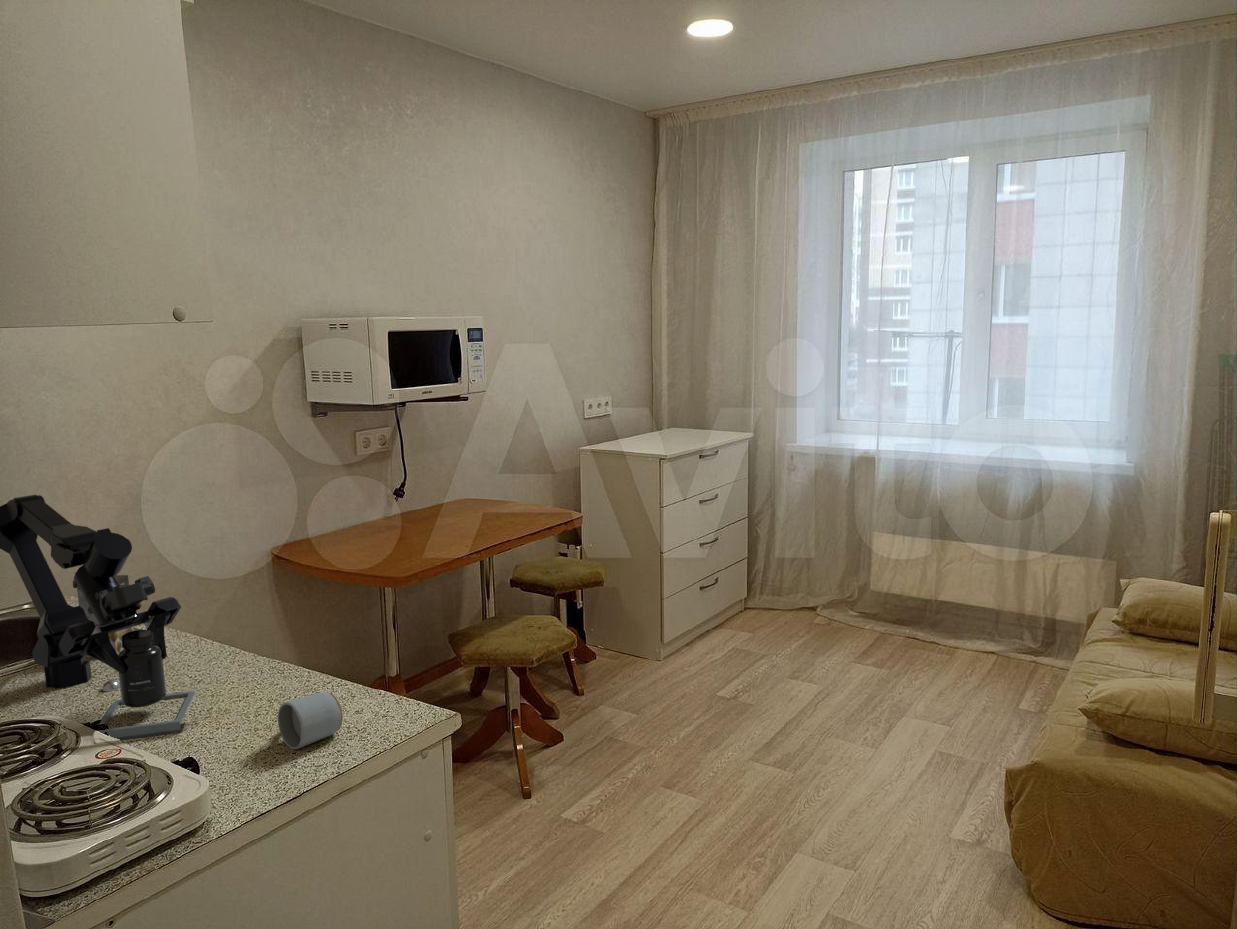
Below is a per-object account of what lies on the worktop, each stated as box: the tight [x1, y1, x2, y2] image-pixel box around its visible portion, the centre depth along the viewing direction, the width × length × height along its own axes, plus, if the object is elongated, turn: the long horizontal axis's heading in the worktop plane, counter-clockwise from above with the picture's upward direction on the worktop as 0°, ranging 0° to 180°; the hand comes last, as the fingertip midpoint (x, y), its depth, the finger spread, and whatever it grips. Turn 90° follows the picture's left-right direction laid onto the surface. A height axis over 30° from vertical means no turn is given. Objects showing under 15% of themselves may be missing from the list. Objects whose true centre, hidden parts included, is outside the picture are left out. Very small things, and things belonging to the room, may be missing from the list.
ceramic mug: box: [277, 691, 344, 750], centre depth 146 cm, size 11×8×8 cm
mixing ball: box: [102, 679, 120, 693], centre depth 164 cm, size 3×3×3 cm
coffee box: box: [76, 574, 135, 659], centre depth 183 cm, size 9×6×16 cm
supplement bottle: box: [118, 629, 167, 708], centre depth 152 cm, size 7×7×12 cm
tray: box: [99, 690, 196, 741], centre depth 153 cm, size 13×13×2 cm
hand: (144, 664), depth 151 cm, fingers closed on supplement bottle, 7 cm apart
